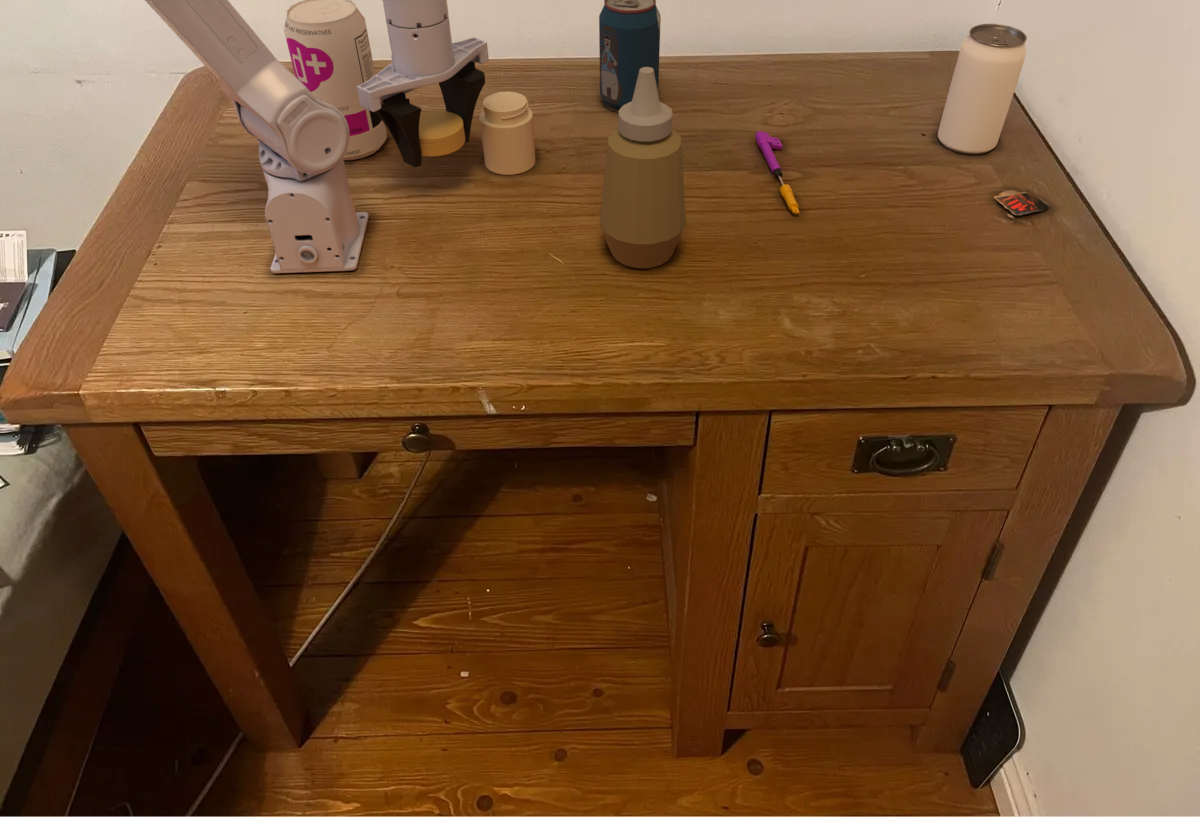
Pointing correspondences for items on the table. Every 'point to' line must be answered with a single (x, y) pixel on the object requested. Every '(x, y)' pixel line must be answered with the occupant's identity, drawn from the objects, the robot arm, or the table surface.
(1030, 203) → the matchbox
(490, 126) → the jar
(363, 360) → the table surface
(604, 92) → the soda can
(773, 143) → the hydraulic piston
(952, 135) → the can
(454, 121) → the lid
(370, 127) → the supplement can
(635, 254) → the squeeze bottle
